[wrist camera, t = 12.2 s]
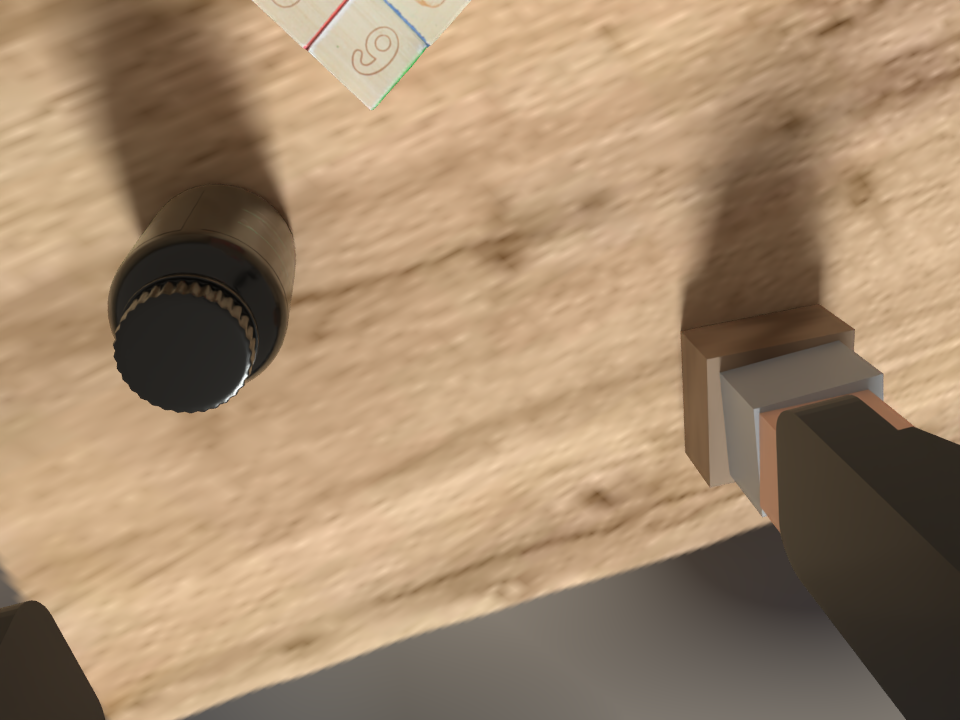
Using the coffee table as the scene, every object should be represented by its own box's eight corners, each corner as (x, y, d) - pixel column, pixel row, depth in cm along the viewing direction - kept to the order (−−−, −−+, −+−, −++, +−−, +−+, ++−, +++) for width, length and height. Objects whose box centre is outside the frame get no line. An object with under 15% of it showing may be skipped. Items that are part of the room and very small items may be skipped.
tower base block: (815, 301, 47) (855, 329, 44) (811, 423, 51) (847, 458, 47) (678, 329, 47) (706, 359, 43) (683, 449, 50) (709, 487, 47)
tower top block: (838, 340, 44) (883, 373, 40) (841, 443, 47) (883, 483, 43) (719, 372, 43) (753, 409, 40) (729, 474, 46) (762, 517, 43)
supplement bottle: (185, 333, 42) (132, 461, 31) (124, 205, 39) (43, 297, 28) (316, 294, 42) (309, 407, 32) (266, 162, 39) (239, 238, 28)
